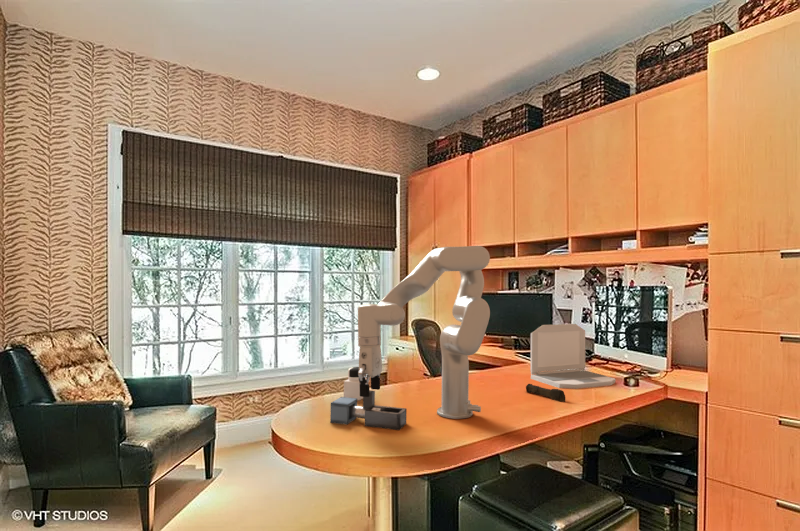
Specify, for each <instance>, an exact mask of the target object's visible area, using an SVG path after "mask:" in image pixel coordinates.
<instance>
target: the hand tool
mask: <svg viewBox="0 0 800 531" xmlns="http://www.w3.org/2000/svg"><path fill="white" fill-rule="evenodd" d="M525 390H526V392H527V394H528V393H529V394H535V395H539V396H542V397H546V398H549V399H551V401H554V402H555V401H556V402H561V403H565V402H566V394H565V392H564V390H562V389H560V388H551V389H550V388H546V387H541V386H539V385H535V384H534V385H533V383H528V384H526V385H525Z"/></svg>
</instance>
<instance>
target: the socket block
mask: <svg viewBox="0 0 800 531" xmlns="http://www.w3.org/2000/svg"><path fill="white" fill-rule="evenodd" d="M351 405H353V406H358V400H357V398H347V397H344V396H340V397H339V398H337V399H335V400H333V401H331V402H330V417H329V418H330V420H329V422H330V424H338V425H339V424H340V425H348V424H350V423H351V422H353V421H354V420H355V419H357V418H353V417H349V406H351Z"/></svg>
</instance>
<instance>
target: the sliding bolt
mask: <svg viewBox="0 0 800 531" xmlns="http://www.w3.org/2000/svg"><path fill="white" fill-rule="evenodd" d="M369 392H370V396H369V397H363V399H362V406H361V405H357V406H353V405H351V406H349V417H353V418H356V419H364V420H365V410H375V411H382V409H381V408H374V407H375V405H376V404H375V403H376V402H375V400H376V398H375V397H376V394H375V393H376V391H375V390H370V389H369Z"/></svg>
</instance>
